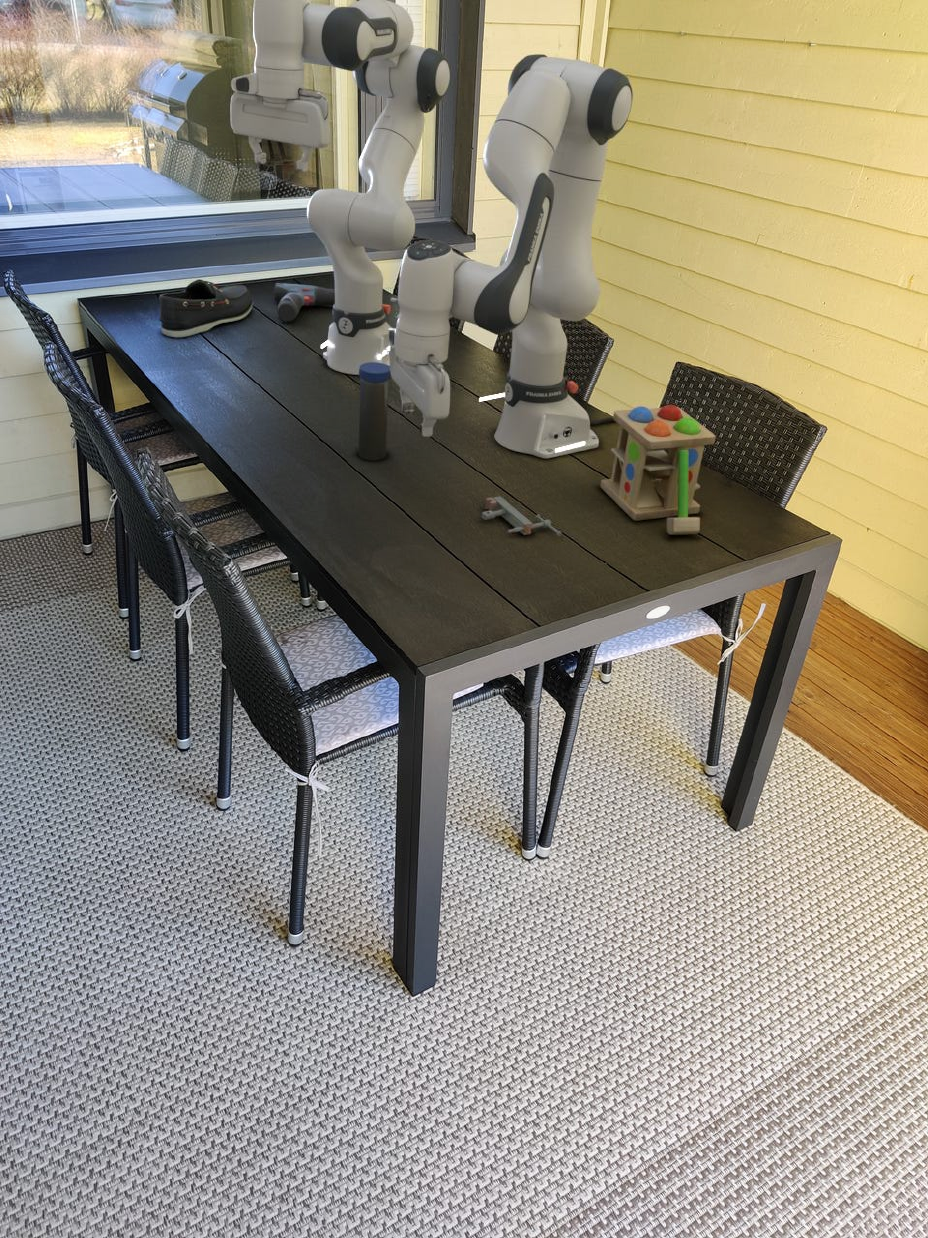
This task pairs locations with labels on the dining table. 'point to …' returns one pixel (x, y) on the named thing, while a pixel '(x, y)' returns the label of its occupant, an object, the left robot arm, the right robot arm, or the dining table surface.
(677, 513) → the pounding bench toy
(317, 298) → the power drill
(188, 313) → the boat shoe
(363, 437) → the dark grey bottle
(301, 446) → the dining table surface
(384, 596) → the dining table surface
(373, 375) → the lid
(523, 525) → the clamp
